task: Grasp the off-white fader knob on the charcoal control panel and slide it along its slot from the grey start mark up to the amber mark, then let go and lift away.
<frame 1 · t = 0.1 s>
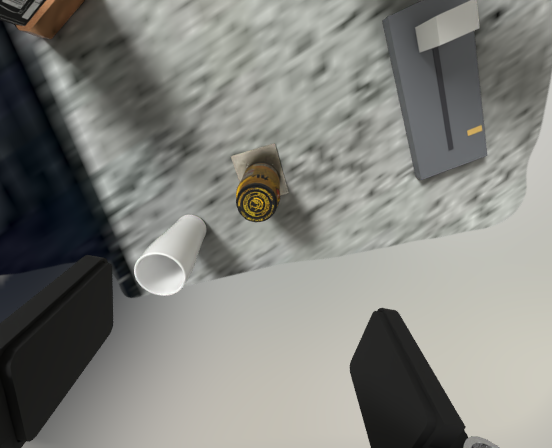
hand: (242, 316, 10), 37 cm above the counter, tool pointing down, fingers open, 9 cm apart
fader knob: (445, 27, 33), point 5 cm above the counter, slide at 0.0 cm
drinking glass: (192, 226, 49), on the counter
fader panel: (434, 92, 41), on the counter
condiment: (260, 174, 46), on the counter
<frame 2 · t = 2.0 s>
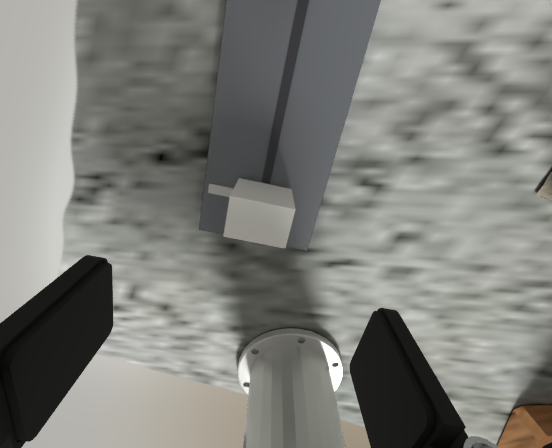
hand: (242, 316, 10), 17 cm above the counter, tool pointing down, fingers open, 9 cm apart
fader knob: (260, 210, 21), point 5 cm above the counter, slide at 0.0 cm
fader panel: (281, 106, 23), on the counter
whiskey bottle: (540, 426, 39), on the counter
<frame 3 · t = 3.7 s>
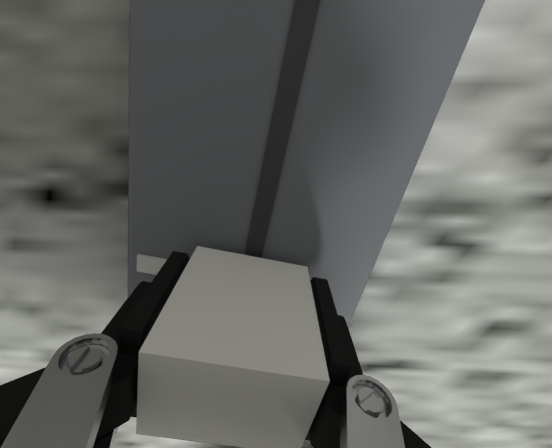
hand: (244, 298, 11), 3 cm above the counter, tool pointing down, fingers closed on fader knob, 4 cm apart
fader knob: (239, 332, 9), point 5 cm above the counter, slide at 0.0 cm, touching gripper
fader panel: (285, 94, 11), on the counter
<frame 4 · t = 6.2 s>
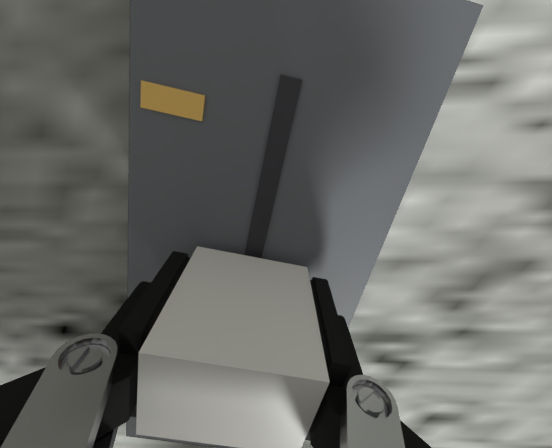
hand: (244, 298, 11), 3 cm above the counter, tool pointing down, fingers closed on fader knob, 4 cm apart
fader knob: (239, 333, 9), point 5 cm above the counter, slide at 8.1 cm, touching gripper
fader panel: (249, 267, 14), on the counter
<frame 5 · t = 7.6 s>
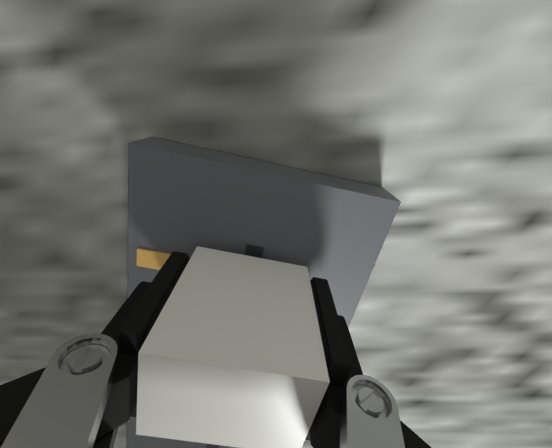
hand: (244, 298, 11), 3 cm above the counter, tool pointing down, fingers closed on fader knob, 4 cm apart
fader knob: (239, 333, 9), point 5 cm above the counter, slide at 14.2 cm, touching gripper
fader panel: (230, 355, 16), on the counter
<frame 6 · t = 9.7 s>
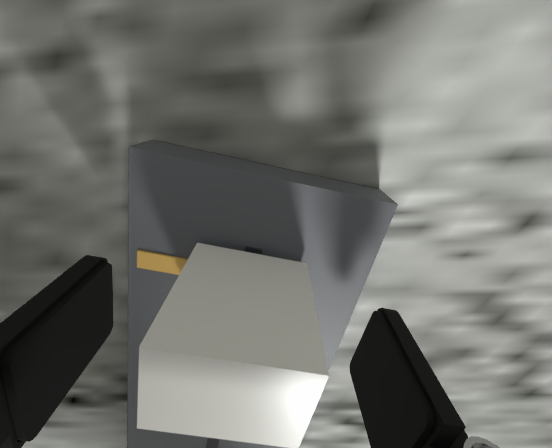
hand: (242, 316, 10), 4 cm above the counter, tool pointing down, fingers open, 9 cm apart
fader knob: (239, 328, 9), point 5 cm above the counter, slide at 14.5 cm
fader panel: (230, 354, 16), on the counter
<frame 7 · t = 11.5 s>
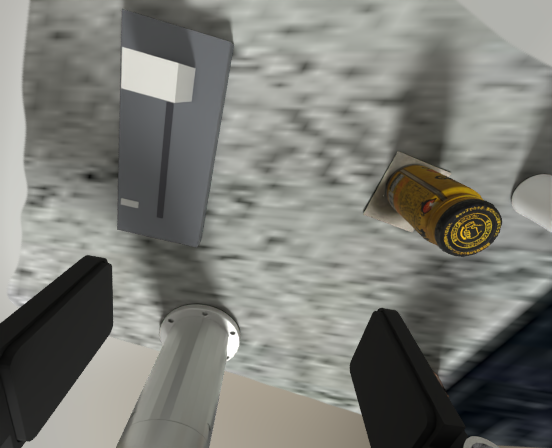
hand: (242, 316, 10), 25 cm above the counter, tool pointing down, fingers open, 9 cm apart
fader knob: (161, 77, 25), point 5 cm above the counter, slide at 14.5 cm
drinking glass: (530, 193, 34), on the counter
fader panel: (172, 145, 32), on the counter
condiment: (404, 193, 35), on the counter
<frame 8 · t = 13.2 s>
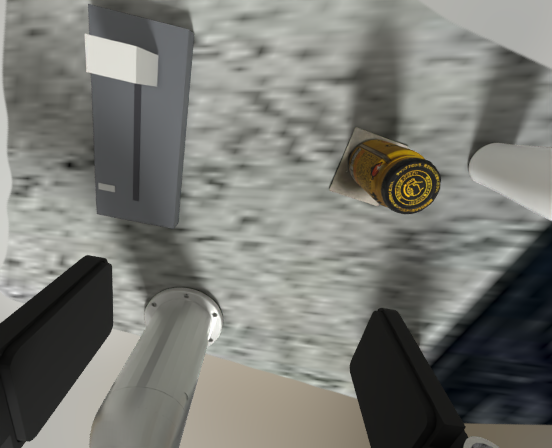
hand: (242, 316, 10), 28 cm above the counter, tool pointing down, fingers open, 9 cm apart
fader knob: (124, 63, 27), point 5 cm above the counter, slide at 14.5 cm
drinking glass: (486, 162, 36), on the counter
fader panel: (144, 131, 34), on the counter
condiment: (366, 168, 36), on the counter
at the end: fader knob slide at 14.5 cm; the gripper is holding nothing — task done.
